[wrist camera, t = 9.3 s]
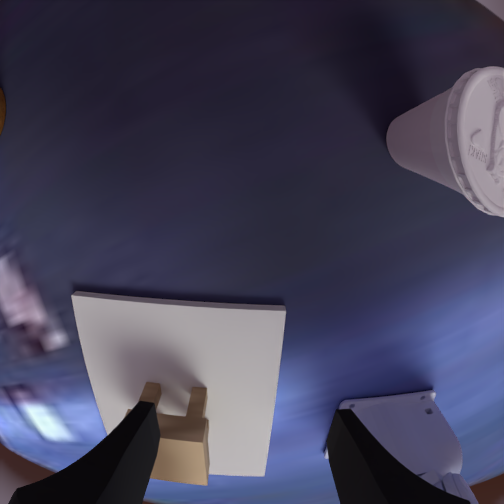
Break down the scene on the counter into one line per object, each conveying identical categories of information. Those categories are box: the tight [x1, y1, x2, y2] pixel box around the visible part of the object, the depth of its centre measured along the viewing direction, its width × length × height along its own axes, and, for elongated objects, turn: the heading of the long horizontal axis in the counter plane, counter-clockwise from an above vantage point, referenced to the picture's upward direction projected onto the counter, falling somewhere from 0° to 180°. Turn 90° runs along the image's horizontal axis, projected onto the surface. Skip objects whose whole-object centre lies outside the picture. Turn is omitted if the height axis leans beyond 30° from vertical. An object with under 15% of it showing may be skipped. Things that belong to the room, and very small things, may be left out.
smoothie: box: [386, 66, 504, 217], centre depth 11 cm, size 6×6×14 cm
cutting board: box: [71, 291, 286, 476], centre depth 23 cm, size 15×19×1 cm
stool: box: [124, 382, 210, 485], centre depth 20 cm, size 5×5×6 cm
